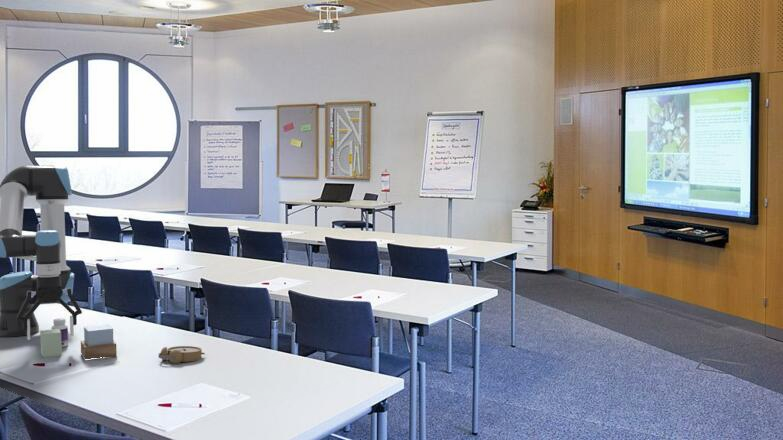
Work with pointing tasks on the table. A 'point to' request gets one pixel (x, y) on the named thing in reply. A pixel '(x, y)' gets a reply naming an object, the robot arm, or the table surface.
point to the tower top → (98, 335)
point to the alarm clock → (181, 354)
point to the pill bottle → (63, 328)
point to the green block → (51, 343)
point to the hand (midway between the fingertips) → (50, 336)
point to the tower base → (98, 350)
